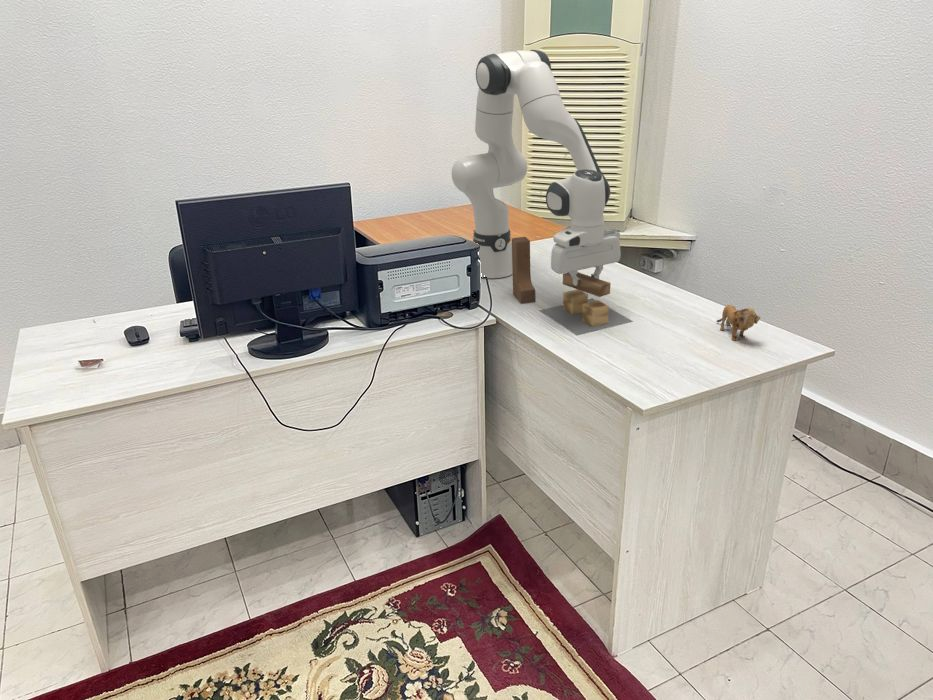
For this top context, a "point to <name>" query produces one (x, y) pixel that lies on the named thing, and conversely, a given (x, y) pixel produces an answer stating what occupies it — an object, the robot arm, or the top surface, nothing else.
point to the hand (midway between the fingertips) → (585, 282)
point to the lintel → (588, 284)
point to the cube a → (574, 301)
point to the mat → (575, 320)
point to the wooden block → (522, 271)
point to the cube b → (595, 313)
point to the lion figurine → (738, 320)
